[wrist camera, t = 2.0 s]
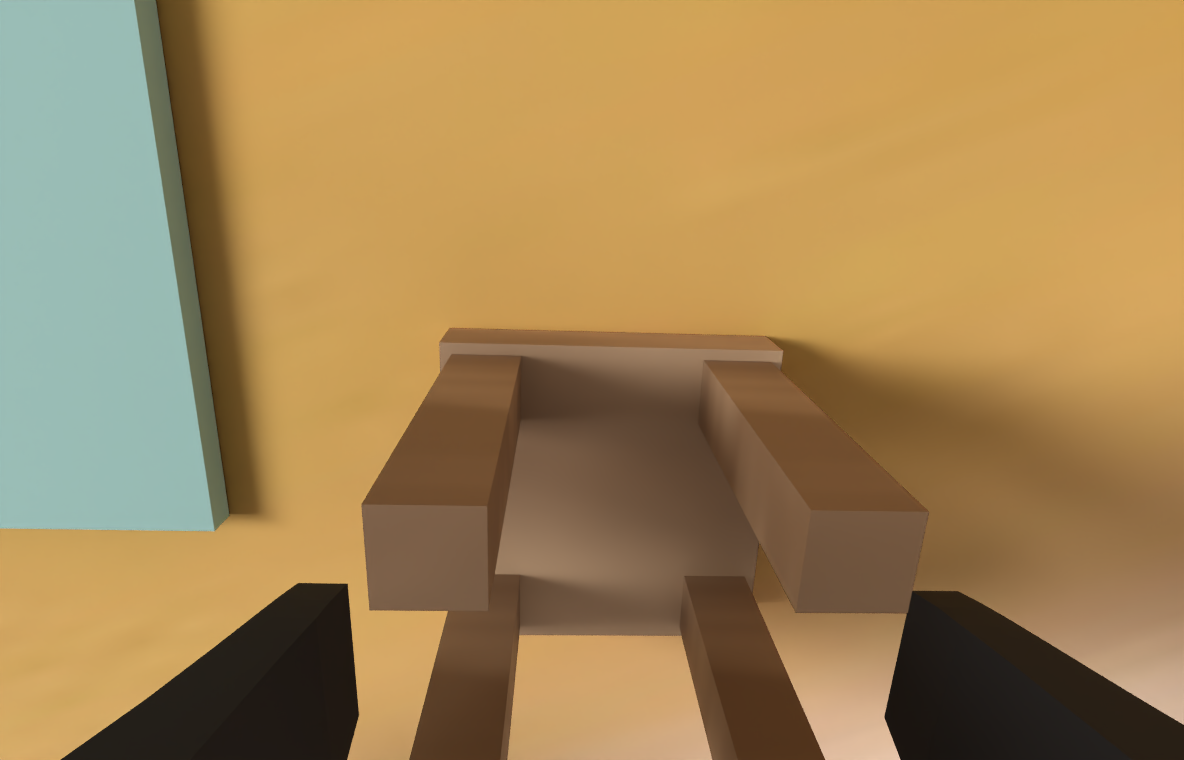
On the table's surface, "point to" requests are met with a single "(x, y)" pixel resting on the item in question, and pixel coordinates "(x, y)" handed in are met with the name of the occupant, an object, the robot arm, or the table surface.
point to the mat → (98, 281)
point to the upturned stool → (627, 522)
